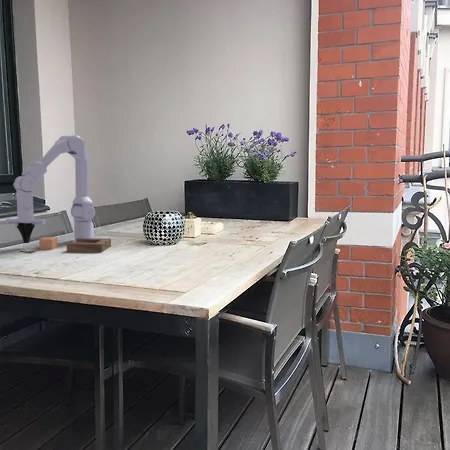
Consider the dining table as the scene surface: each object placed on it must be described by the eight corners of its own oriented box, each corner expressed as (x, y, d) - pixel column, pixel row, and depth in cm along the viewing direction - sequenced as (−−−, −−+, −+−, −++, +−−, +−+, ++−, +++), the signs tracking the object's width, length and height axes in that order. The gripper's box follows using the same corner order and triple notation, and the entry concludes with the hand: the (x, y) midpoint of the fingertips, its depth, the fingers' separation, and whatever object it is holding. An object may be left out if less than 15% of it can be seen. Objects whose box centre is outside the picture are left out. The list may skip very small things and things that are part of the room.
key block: (44, 247, 200) (44, 237, 200) (57, 247, 200) (57, 237, 200) (39, 249, 195) (39, 239, 195) (52, 249, 195) (52, 239, 195)
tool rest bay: (78, 245, 204) (78, 238, 204) (111, 246, 204) (110, 238, 203) (66, 251, 190) (66, 243, 190) (101, 252, 190) (101, 244, 190)
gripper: (1, 208, 192) (3, 244, 194) (39, 209, 192) (41, 244, 193) (10, 206, 199) (11, 241, 201) (47, 207, 199) (48, 241, 200)
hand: (26, 242), depth 198 cm, fingers closed
